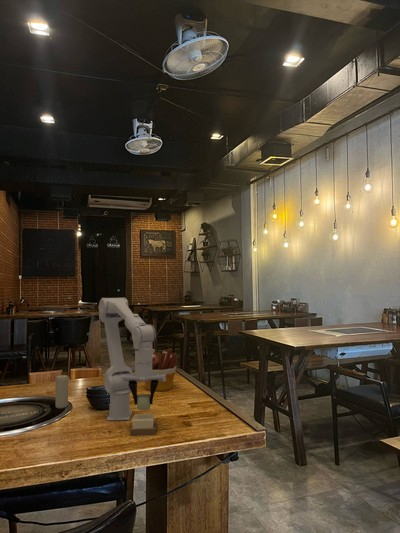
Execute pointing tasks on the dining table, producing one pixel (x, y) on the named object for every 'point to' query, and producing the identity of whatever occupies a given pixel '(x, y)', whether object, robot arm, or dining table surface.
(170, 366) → the bucket of meat
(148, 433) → the base block
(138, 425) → the top block
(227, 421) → the dining table surface
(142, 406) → the green cylinder
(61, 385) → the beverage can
